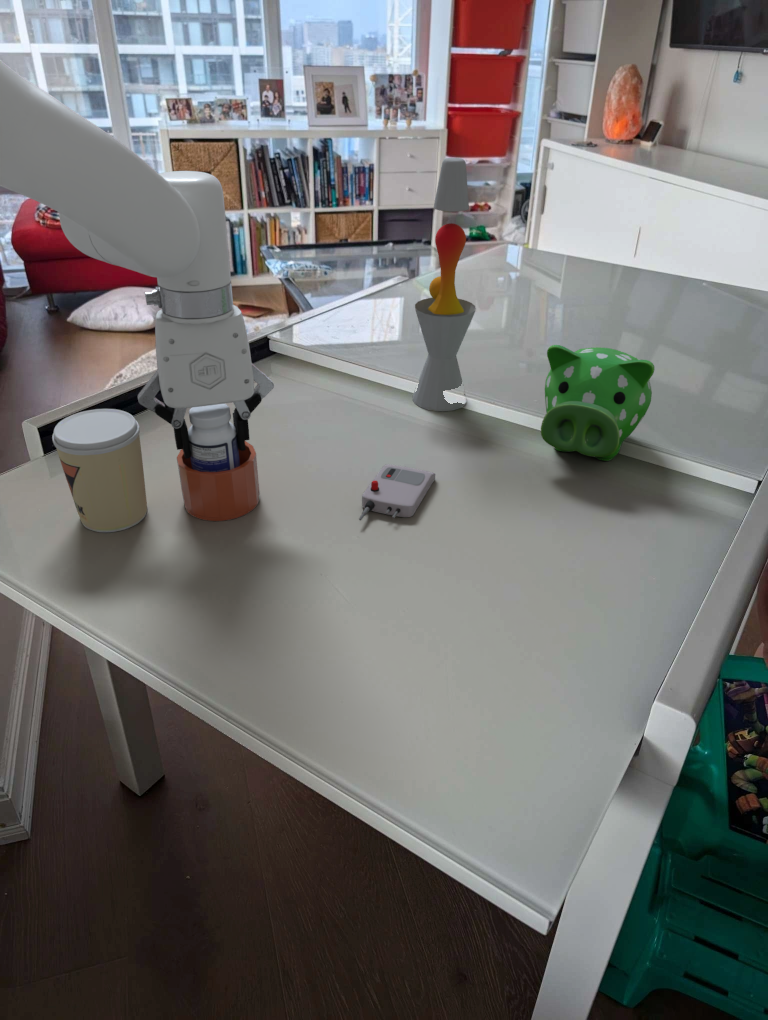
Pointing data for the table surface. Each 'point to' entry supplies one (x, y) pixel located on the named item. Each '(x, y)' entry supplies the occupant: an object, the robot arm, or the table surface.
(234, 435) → the pill bottle
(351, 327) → the table surface
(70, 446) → the coffee cup
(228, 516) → the pen cup
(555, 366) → the piggy bank
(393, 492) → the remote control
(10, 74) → the robot arm
